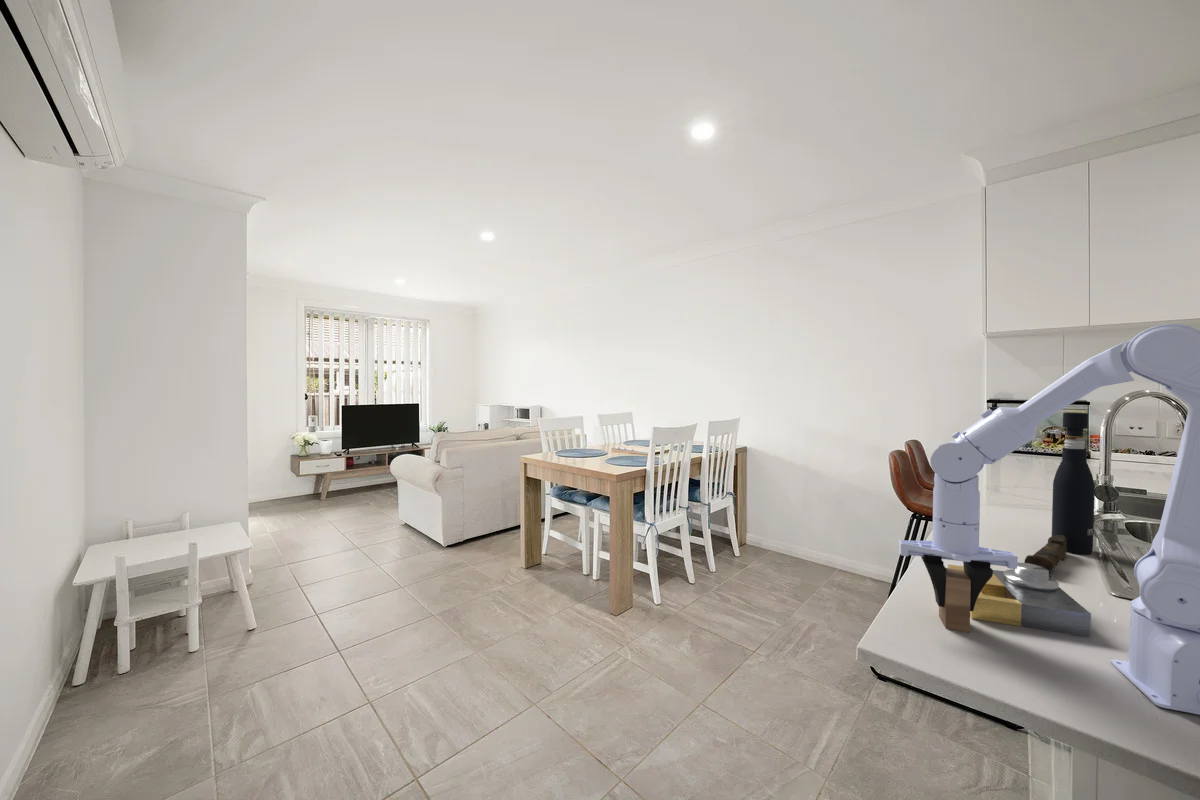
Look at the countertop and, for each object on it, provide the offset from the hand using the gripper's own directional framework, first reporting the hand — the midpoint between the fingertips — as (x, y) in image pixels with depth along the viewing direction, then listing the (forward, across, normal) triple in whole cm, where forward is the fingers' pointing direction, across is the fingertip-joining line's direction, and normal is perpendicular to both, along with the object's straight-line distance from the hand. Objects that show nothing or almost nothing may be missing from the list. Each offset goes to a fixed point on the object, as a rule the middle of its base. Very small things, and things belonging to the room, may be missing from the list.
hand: (954, 606), depth 72 cm
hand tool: (+3, +24, +36) cm, 43 cm away
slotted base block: (+3, +10, +10) cm, 14 cm away
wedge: (+3, 0, 0) cm, 3 cm away
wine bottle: (+3, +32, +47) cm, 57 cm away
